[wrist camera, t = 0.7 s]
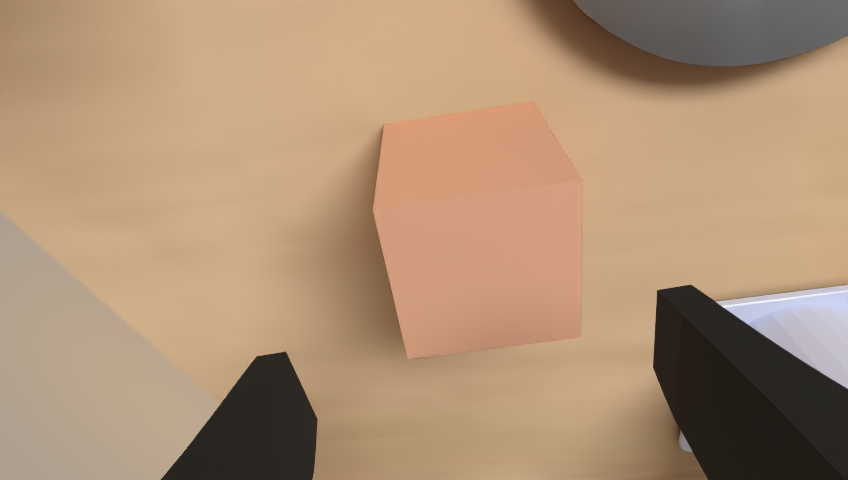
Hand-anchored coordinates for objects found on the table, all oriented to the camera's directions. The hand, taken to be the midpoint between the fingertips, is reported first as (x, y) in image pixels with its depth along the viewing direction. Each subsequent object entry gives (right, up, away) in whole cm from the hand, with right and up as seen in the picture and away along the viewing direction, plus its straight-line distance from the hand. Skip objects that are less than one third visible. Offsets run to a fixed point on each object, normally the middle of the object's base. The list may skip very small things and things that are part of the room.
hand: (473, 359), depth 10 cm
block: (+1, +5, +9) cm, 10 cm away
